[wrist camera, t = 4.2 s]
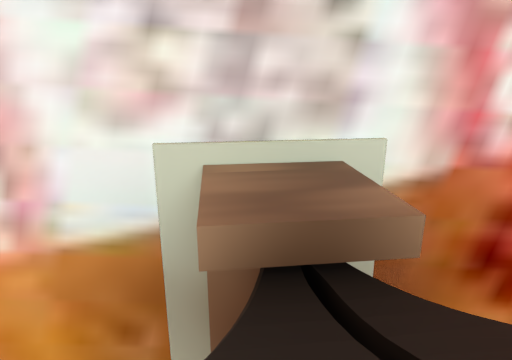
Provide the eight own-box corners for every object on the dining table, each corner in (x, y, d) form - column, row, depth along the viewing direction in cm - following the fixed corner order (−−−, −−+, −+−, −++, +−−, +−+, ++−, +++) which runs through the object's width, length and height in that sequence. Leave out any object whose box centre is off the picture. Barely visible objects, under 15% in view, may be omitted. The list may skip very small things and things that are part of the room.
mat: (384, 138, 12) (387, 139, 12) (357, 401, 16) (359, 405, 16) (153, 143, 12) (152, 144, 11) (177, 421, 15) (176, 425, 15)
